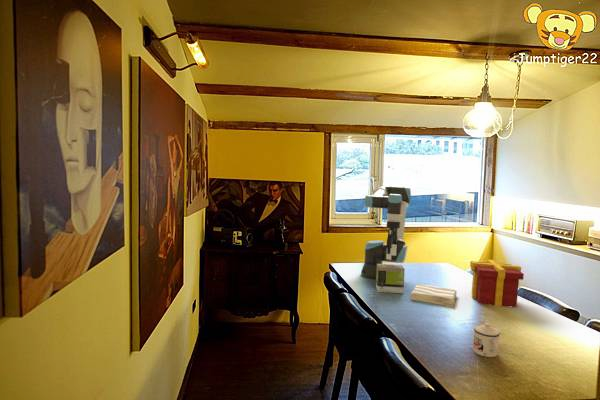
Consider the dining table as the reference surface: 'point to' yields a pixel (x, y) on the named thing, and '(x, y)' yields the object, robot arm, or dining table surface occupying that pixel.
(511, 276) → the gift box
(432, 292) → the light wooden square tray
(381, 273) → the tea box
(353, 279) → the dining table surface
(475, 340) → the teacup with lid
